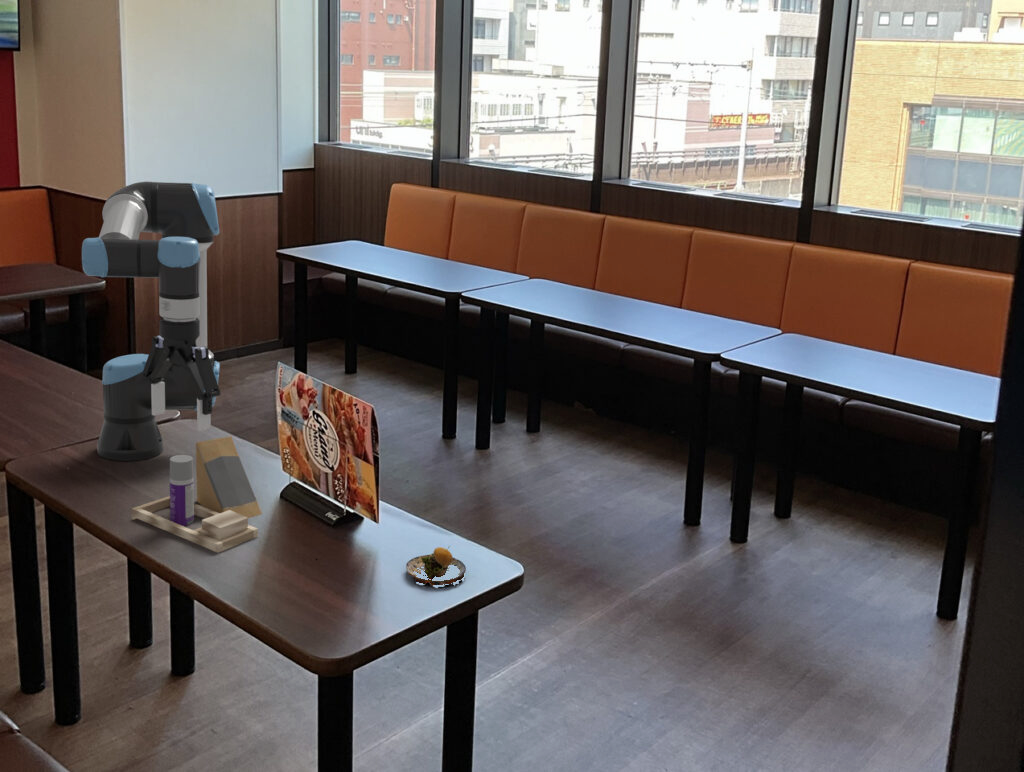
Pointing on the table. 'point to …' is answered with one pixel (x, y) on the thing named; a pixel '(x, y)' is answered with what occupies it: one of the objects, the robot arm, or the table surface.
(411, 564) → the plate of food
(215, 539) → the block
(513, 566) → the table surface
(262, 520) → the table surface
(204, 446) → the sandwich container
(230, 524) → the offcut top
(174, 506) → the container
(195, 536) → the frame
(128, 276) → the robot arm
